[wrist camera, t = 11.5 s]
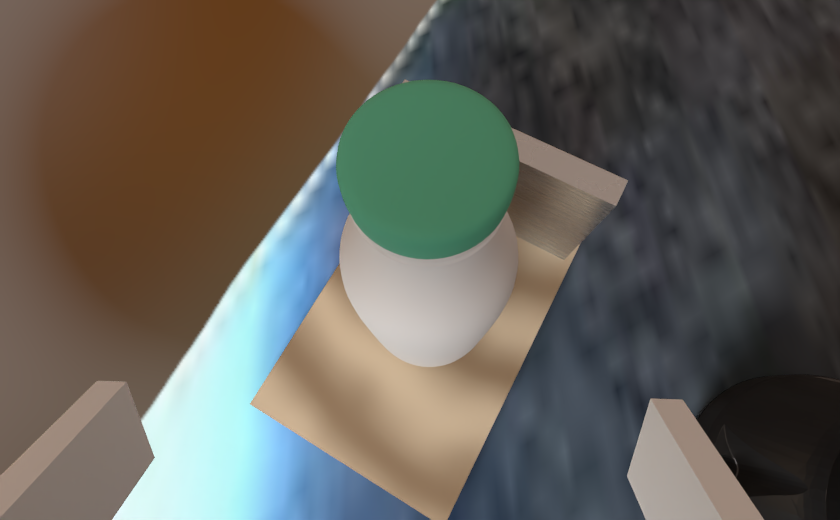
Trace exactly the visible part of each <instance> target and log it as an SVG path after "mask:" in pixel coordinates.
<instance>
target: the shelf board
mask: <svg viewBox="0 0 840 520" xmlns="http://www.w3.org/2000/svg"><path fill="white" fill-rule="evenodd" d="M516 238H517V245H518V269H517V275H516V279H515V284H514V287H513V290H512V293H511V296H510V298H509V300H508V302H507V304H506V305H505V307H504V309H503V311H502V312H501V314H500V316H499V317H498V319H497V320H496V321H495V323H494V324H493V325H492V327H491V328H490V329H489V330H488V332H487V333H486V334H485V335H484V337H483V338H482V339H481V340H480V341H479V342H478V343H477V344H476V346H475V347H474V348H473V349H472V350H471V351H470V352H468V353H467V354H466V355H464V356H463V357H462V358H460V359H458V360H456V361H454V362H452V363H450V364H447V365H443V366H437V367H421V366H416V365H412V364H409V363H407V362H404V361H403V360H401V359H399V358H397V357H396V356H394V355H393V354H392V353H390V352H389V351H388V350H387V349H386V348H385V347H384V346H383V345H382V344H381V343H380V342H379V340H378V339H377V338H376V337H375V336H374V335H373V334H372V332H371V331H370V330H369V329H368V327H367V326H366V325H365V324H364V323H363V321H362V320H361V319H360V317H359V315H358V314H357V312H356V311H355V309H354V307H353V306H352V304H351V302H350V300H349V298H348V296H347V293H346V291H345V288H344V284H343V280H342V276H341V270H340V264H339V265H338V267H337V268H336V270H335V271H334V273H333V275H332V276H331V278H330V279H329V281H328V282H327V284H326V286H325V287H324V289H323V290H322V292H321V293H320V295H319V297H318V298H317V300H316V301H315V303H314V304H313V306H312V307H311V309H310V311H309V312H308V314H307V315H306V317H305V318H304V320H303V322H302V323H301V325H300V326H299V328H298V329H297V331H296V333H295V334H294V336H293V337H292V339H291V340H290V342H289V344H288V345H287V347H286V348H285V350H284V351H283V353H282V355H281V356H280V358H279V359H278V361H277V362H276V364H275V366H274V367H273V369H272V370H271V372H270V373H269V375H268V377H267V378H266V380H265V381H264V383H263V384H262V386H261V388H260V389H259V391H258V392H257V394H256V395H255V397H254V399H253V400H252V402H251V403H250V404H251V405H252V406H254V407H255V408H257V409H259V410H260V411H262V412H263V413H265V414H266V415H268V416H270V417H271V418H273V419H274V420H276V421H277V422H279V423H281V424H282V425H284V426H285V427H287V428H288V429H290V430H292V431H293V432H295V433H296V434H298V435H299V436H301V437H303V438H304V439H306V440H307V441H309V442H310V443H312V444H314V445H315V446H317V447H318V448H320V449H321V450H323V451H325V452H326V453H328V454H329V455H331V456H332V457H334V458H336V459H337V460H339V461H340V462H342V463H343V464H345V465H347V466H348V467H350V468H351V469H353V470H354V471H356V472H358V473H359V474H361V475H362V476H364V477H365V478H367V479H369V480H370V481H372V482H373V483H375V484H376V485H378V486H380V487H381V488H383V489H384V490H386V491H387V492H389V493H391V494H392V495H394V496H395V497H397V498H398V499H400V500H402V501H403V502H405V503H406V504H408V505H409V506H411V507H413V508H414V509H416V510H417V511H419V512H420V513H422V514H424V515H425V516H427V517H428V518H430V519H431V520H447V519H448V517H449V515H450V513H451V511H452V509H453V507H454V504H455V502H456V500H457V498H458V496H459V494H460V492H461V490H462V488H463V486H464V484H465V482H466V480H467V478H468V475H469V473H470V471H471V469H472V467H473V465H474V463H475V461H476V459H477V457H478V455H479V453H480V451H481V449H482V446H483V444H484V442H485V440H486V438H487V436H488V434H489V432H490V430H491V428H492V426H493V424H494V422H495V419H496V417H497V415H498V413H499V411H500V409H501V407H502V405H503V403H504V401H505V399H506V397H507V395H508V393H509V390H510V388H511V386H512V384H513V382H514V380H515V378H516V376H517V374H518V372H519V370H520V368H521V366H522V364H523V361H524V359H525V357H526V355H527V353H528V351H529V349H530V347H531V345H532V343H533V341H534V339H535V337H536V334H537V332H538V330H539V328H540V326H541V324H542V322H543V320H544V318H545V316H546V314H547V312H548V310H549V308H550V305H551V303H552V301H553V299H554V297H555V295H556V293H557V291H558V289H559V287H560V285H561V283H562V281H563V279H564V276H565V274H566V272H567V270H568V268H569V266H570V264H571V262H572V260H573V258H574V256H575V254H576V252H577V249H578V247H579V245H580V244H579V245H578V246H577V247H576V248H575V249H574V250H573V251H572V252H571V253H570V254H569V255H568V257H567V258H566V259H565V260H563V259H561V258H559V257H557V256H555V255H553V254H551V253H549V252H547V251H545V250H543V249H541V248H539V247H537V246H535V245H533V244H531V243H529V242H527V241H525V240H523V239H521V238H519V237H517V236H516Z"/></svg>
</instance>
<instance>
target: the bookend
mask: <svg viewBox="0 0 840 520" xmlns="http://www.w3.org/2000/svg"><path fill="white" fill-rule="evenodd" d="M405 82H410V81H407V80H404V81H403V83H405ZM511 129H512V131H513V133H514V136H515V139H516V142H517V147H518V153H519V176H518V181H517V185H516V189H515V192H514V196H513V198H512V201H511V203H510V206H509V208H508V210H507V212H508V214H509V217H510V219H511V221H512V224H513V227H514V230H515V233H516V236H517V237H519V238H521V239H523V240H525V241H527V242H529V243H531V244H533V245H535V246H537V247H539V248H541V249H543V250H545V251H547V252H549V253H551V254H553V255H555V256H557V257H559V258H561V259H563V260H565V259H566V258H567V257H568V255H569V254H570V253H571V252H572V251H573V250H574V249H575V248H576V247H577V246H578V245H579V244H580V243H581V242H582V241H583V240H584V239H585V238H586V237H587V236H588V235H589V234H590V233H591V232H592V231H593V230H594V228H595V227H596V226H597V225H598V224H599V223H600V222H601V221H602V220H603V219H604V218H605V217H606V216H607V215H608V214H609V213H610V212H611V211H612V210H613V209H614V208H615V207H616V205H617V203H618V201H619V199H620V197H621V194H622V192H623V190H624V188H625V186H626V184H627V182H628V180H626V179H623V178H621V177H619V176H617V175H615V174H612V173H610V172H608V171H606V170H604V169H601V168H599V167H597V166H595V165H593V164H590V163H588V162H586V161H584V160H582V159H579V158H577V157H575V156H573V155H570V154H568V153H566V152H564V151H562V150H559V149H557V148H555V147H553V146H551V145H548V144H546V143H544V142H542V141H540V140H537V139H535V138H533V137H531V136H529V135H526V134H524V133H522V132H520V131H518V130H515V129H513V128H511Z"/></svg>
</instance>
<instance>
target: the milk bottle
mask: <svg viewBox="0 0 840 520" xmlns="http://www.w3.org/2000/svg"><path fill="white" fill-rule="evenodd" d="M336 171H337V179H338V184H339V187H340V191H341V194H342V197H343V200H344V202H345V205H346V207H347V209H348V211H349V213H350V214H349V216H348V218H347V221H346V223H345V226H344V229H343V233H342V237H341V243H340V258H339V260H340V270H341V276H342V280H343V284H344V288H345V291H346V293H347V296H348V298H349V300H350V302H351V304H352V306H353V307H354V309H355V311H356V312H357V314H358V315H359V317H360V319H361V320H362V321H363V323H364V324H365V325H366V326H367V327H368V329H369V330H370V331H371V332H372V334H373V335H374V336H375V337H376V338H377V339H378V340H379V342H380V343H381V344H382V345H383V346H384V347H385V348H386V349H387V350H388V351H389V352H390V353H392V354H393V355H394V356H396V357H397V358H399V359H401V360H403V361H404V362H407V363H409V364H412V365H416V366H421V367H437V366H443V365H447V364H450V363H452V362H454V361H456V360H458V359H460V358H462V357H463V356H464V355H466V354H467V353H468V352H470V351H471V350H472V349H473V348H474V347H475V346H476V344H477V343H478V342H479V341H480V340H481V339H482V338H483V337H484V335H485V334H486V333H487V332H488V330H489V329H490V328H491V327H492V325H493V324H494V323H495V321H496V320H497V319H498V317H499V316H500V314H501V312H502V311H503V309H504V307H505V305H506V304H507V302H508V300H509V298H510V296H511V293H512V290H513V287H514V284H515V279H516V275H517V269H518V245H517V238H516V233H515V230H514V227H513V224H512V221H511V219H510V217H509V214H508V212H507V210H508V208H509V206H510V203H511V201H512V198H513V196H514V192H515V189H516V185H517V181H518V176H519V153H518V147H517V142H516V139H515V136H514V133H513V131H512V129H511V126H510V125H509V123H508V121H507V120H506V118H505V117H504V115H503V114H502V113H501V112H500V110H499V109H498V108H497V107H496V106H495V105H494V104H493V103H492V102H490V101H489V100H488V99H486V98H485V97H484V96H482V95H481V94H479V93H477V92H476V91H474V90H472V89H470V88H467V87H465V86H462V85H459V84H456V83H452V82H447V81H440V80H417V81H410V82H405V83H401V84H398V85H395V86H392V87H390V88H387V89H385V90H383V91H381V92H379V93H378V94H376V95H374V96H373V97H372V98H370V99H369V100H367V101H366V102H365V103H364V104H363V105H362V106H361V107H360V108H359V109H358V110H357V111H356V112H355V113H354V115H353V116H352V117H351V119H350V120H349V122H348V123H347V125H346V127H345V129H344V131H343V133H342V136H341V138H340V142H339V146H338V152H337V160H336Z"/></svg>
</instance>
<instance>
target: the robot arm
mask: <svg viewBox="0 0 840 520" xmlns="http://www.w3.org/2000/svg"><path fill="white" fill-rule="evenodd" d="M153 459H154V455H153V452H152V449H151V447H150V444H149V441H148V439H147V436H146V433H145V431H144V428H143V425H142V423H141V420H140V417H139V414H138V412H137V409H136V406H135V404H134V401H133V398H132V396H131V393H130V390H129V388H128V385H127V382H117V381H97V382H96V383H94V384H93V385H92V386H91V388H89V389H88V391H86V392H85V393H84V395H82V396H81V397H80V398H79V399H78V400H77V401H76V402H75V403H74V404H73V405H72V406H71V407H70V408H69V409H68V410H67V411H66V412H65V413H64V414H63V415H62V416H61V417H60V418H59V419H58V420H57V421H56V422H55V423H54V424H53V425H52V426H51V427H50V428H49V429H48V430H47V431H46V432H45V433H44V434H43V435H42V436H40V437H39V438H38V440H36V442H34V443H33V444H32V445H31V446H30V447H29V449H27V450H26V451H25V452H24V453H23V454H22V455H21V456H20V457H19V458H18V459H17V460H16V461H15V462H14V463H13V464H12V465H11V466H10V467H9V468H8V469H7V470H6V471H5V472H4V473H3V474H2V475H1V476H0V520H112V519H113V517H114V516H115V514H116V513H117V511H118V510H119V508H120V507H121V506H122V504H123V503H124V501H125V500H126V498H127V497H128V495H129V494H130V493H131V491H132V490H133V488H134V487H135V485H136V484H137V482H138V481H139V480H140V478H141V477H142V475H143V474H144V472H145V471H146V469H147V468H148V466H149V465H150V464H151V462H152V461H153ZM627 477H628V479H629V482H630V484H631V486H632V489H633V491H634V493H635V496H636V498H637V500H638V502H639V505H640V507H641V509H642V512H643V514H644V516H645V519H646V520H840V380H838V379H834V378H829V377H824V376H816V375H803V374H798V375H778V376H766V377H759V378H754V379H751V380H747V381H744V382H741V383H739V384H737V385H735V386H732V387H731V388H729V389H727V390H726V391H724V392H723V393H721V394H720V395H719V396H718V397H716V398H715V399H714V400H713V401H712V402H711V403H710V404H709V405H708V406H707V407H706V409H705V410H704V411H703V412H702V414H701V415H700V417H699V418H698V420H696V419H695V417H694V416H693V414H692V413H691V411H690V410H689V408H688V407H687V405H686V404H685V402H684V401H683V400H679V399H650V402H649V405H648V409H647V412H646V415H645V419H644V422H643V425H642V428H641V432H640V435H639V438H638V442H637V445H636V448H635V451H634V455H633V458H632V461H631V465H630V468H629V471H628V474H627Z"/></svg>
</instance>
